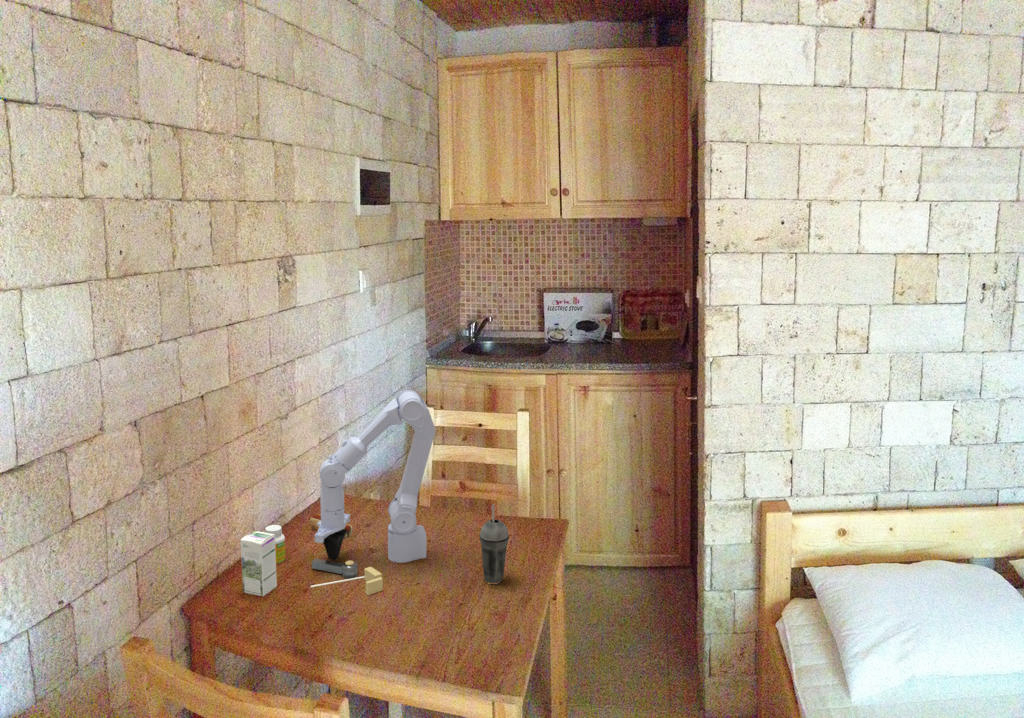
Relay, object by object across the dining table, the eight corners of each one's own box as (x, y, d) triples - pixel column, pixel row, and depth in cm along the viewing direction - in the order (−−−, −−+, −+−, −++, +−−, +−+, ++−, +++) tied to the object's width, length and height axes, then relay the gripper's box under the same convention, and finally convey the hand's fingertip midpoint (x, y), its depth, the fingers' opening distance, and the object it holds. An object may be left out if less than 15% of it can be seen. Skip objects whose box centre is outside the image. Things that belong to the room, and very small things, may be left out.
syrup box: (278, 590, 196) (276, 532, 193) (262, 602, 190) (260, 542, 187) (257, 586, 197) (255, 529, 195) (241, 597, 192) (239, 538, 189)
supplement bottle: (279, 569, 207) (278, 533, 205) (259, 567, 208) (258, 530, 206) (289, 560, 212) (288, 524, 210) (269, 558, 213) (268, 522, 211)
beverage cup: (513, 577, 205) (515, 501, 201) (500, 589, 199) (502, 510, 195) (486, 571, 208) (488, 495, 204) (473, 583, 202) (474, 505, 198)
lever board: (368, 567, 209) (367, 550, 208) (390, 599, 193) (390, 581, 192) (304, 578, 202) (303, 560, 201) (321, 613, 186) (321, 594, 185)
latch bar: (360, 573, 203) (359, 563, 202) (352, 579, 200) (352, 569, 199) (317, 565, 207) (317, 555, 206) (309, 571, 203) (309, 561, 203)
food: (306, 532, 230) (305, 515, 229) (321, 526, 234) (320, 509, 233) (342, 545, 222) (341, 527, 221) (356, 538, 227) (356, 521, 226)
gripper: (332, 495, 214) (333, 545, 216) (302, 515, 200) (304, 568, 203) (357, 499, 212) (357, 548, 215) (329, 519, 198) (330, 572, 201)
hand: (333, 558), depth 209 cm, fingers closed
